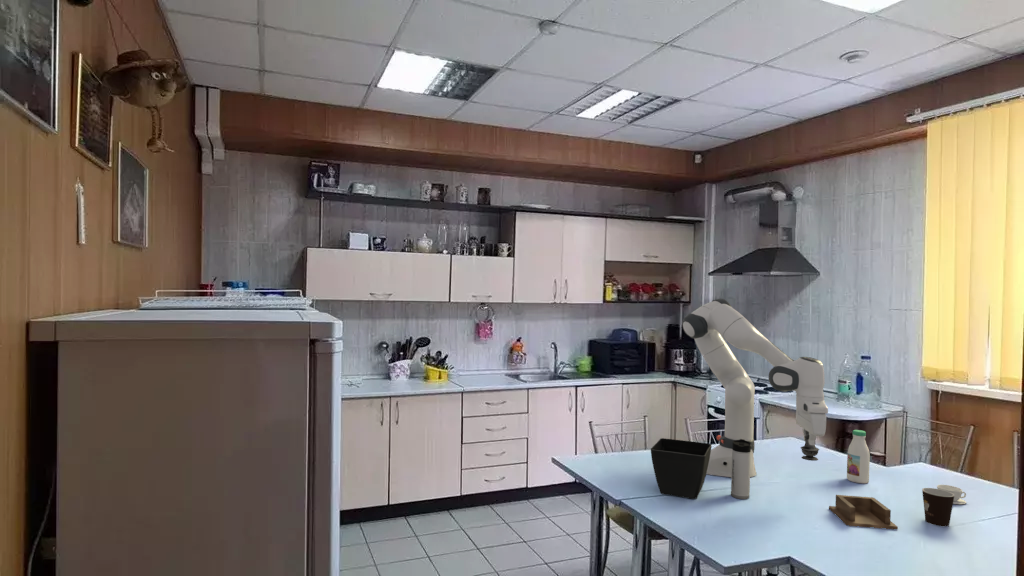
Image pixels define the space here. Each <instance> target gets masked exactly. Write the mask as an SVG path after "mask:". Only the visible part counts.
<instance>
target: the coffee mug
mask: <svg viewBox="0 0 1024 576" xmlns="http://www.w3.org/2000/svg"><path fill="white" fill-rule="evenodd" d="M921 491H922V492H921V493H922V499H923V501H922V502H923V509H924V518H925V519H924V521H925V522H927V523H928V524H930V525H932V526H935V527H936V526H937V527H946V528H947V527H949V526H950V523H951V517H952V511H953V505H954V504H953V501H954V494H953V493H951V492H948V491H945V490H941V489H937V488H934V487H924V488H922V489H921Z"/></svg>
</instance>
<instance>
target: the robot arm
mask: <svg viewBox="0 0 1024 576" xmlns="http://www.w3.org/2000/svg"><path fill="white" fill-rule="evenodd" d="M681 327H682V330H683V332H684V333H685V334H686V336H688V337H689V338H691V339H694V342H695V345H696V346H697V348H698V350H699V352H700V354H701V355H702V357H703V359H704V361H705V362H706V364H707V365H708V367H709V369H710V370H711V372H712V373H713V375H715V377H716V379H718V381H719V383H720V384H721V385H722V386H723V388H724V389H725V390H724V412H725V413H724V435H723V436H722V435H719V434H718V435H716V440H717V441H719V442H718V443H719V444H718V445H717V446H715V447H713V448H711V453H710V459H709V464H708V469H707V473H706V475H709V476H710V475H711V476H717V477H726V478H731V475H732V448H733V441H734V440H740V439H744V440H745V441H748V442H750V443H751V461H750V478H753V477H755V476H757V471H756V466H755V458H754V453H755V439H754V428H755V425H754V424H755V423H754V421H755V418H754V417H755V390H756V387H755V384H754V382H753V381H752V379H751V378H750V376H749V374H748V373H747V372H746V370H745V369H744V368H743V366H742V364H741V363H740V362H739V361H738V358H737V357H736V356H735V354H734V352H733V351H732V350H731V348H730V347H729V345H731V346H733V347H734V348H736V349H738V350H741V351H746V352H751V353H755V354H757V355H759V356H761V357H762V358H763V359H765V361H767V363H769V364H770V365H771V366H773V367H772V368H771V369H770V370H769V373H768V381H769V384H770V386H771V387H772V388H773V389H775V390H776V391H780V392H789V391H790V392H791V391H794V392H795V393H796V394H795V396H796V397H795V398H796V400H795V407H796V409H795V424H796V425H798V426H799V427H801V428H802V435H803V441H804V442H805V436H806V431H808V432H809V439H808V444H810V445H815V446H816V439H817V437H824V436H825V434H826V431H827V430H826V429H827V414H829V408H828V406H827V404H826V401H825V394H824V387H825V384H826V383H825V369H824V364H823V362H822V361H821V360H819V359H817V358H813V357H809V356H800V357H799V358H797V359H795V360H794V359H793V358H792V357H790V356H788V355H787V354H786V353H785V352H783V350H781V349H780V348H779V347H778V346H777V345H776V344H774V343H773V342H772V341H770V339H768V338H767V337H766V336H765V335H763V334H762V333H761V332H760V331H759V330H758V329H757V328H756V327H755V326H754V325H753V324H752V323H751V322H750V321H749V320H748V319H747V318H746V317H744V315H743V314H741V312H739V311H737V310H736V309H735V308H734V307H733V306H732V305H731V304H730V302H729V301H727V299H724V298H717V299H716V298H715V299H713V300H711V301H710V302H707V303H705V304H703V305H701V306H699V307H698V308H697V309H695V310H694V311H692V312H690V313H688V314H687V315H685V317H684V318H683V319H682V321H681ZM728 343H729V345H728Z"/></svg>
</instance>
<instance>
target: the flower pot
mask: <svg viewBox="0 0 1024 576" xmlns="http://www.w3.org/2000/svg"><path fill="white" fill-rule="evenodd" d="M712 447H713V446H712V444H711V443H706V442H701V441H700V442H698V441H691V440H681V439H671V438H664V437H661V438H659V439H658V441H657V442H656V443H655V444H653V446H652V447H651V448H650V454H651V455H650V456H651V457H650V458H651V462H652V467H653V473H654V476H655V479H656V483H657V486H658V490H659V493H660V494H661V495H667V496H673V497H678V498H679V497H680V498H686V499H692V500H697V499H698V497H699V495H700V492H701V491H702V488H703V485H704V483H705V479H706V476H707V474H706V473H707V469H708V464H709V459H710V453H711V450H712Z"/></svg>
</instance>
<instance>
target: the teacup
mask: <svg viewBox="0 0 1024 576" xmlns="http://www.w3.org/2000/svg"><path fill="white" fill-rule="evenodd" d="M936 489H941V490H945V491H948V492H951V493H953V494H954V501H953V505H965V504H967V501H966V500H964V499H965V498H966V496H967V493H966V492H965V491H963V489H961V488H960V487H957V486H954V485H948V484H938V485H936ZM962 494H963V496H962Z"/></svg>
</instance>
